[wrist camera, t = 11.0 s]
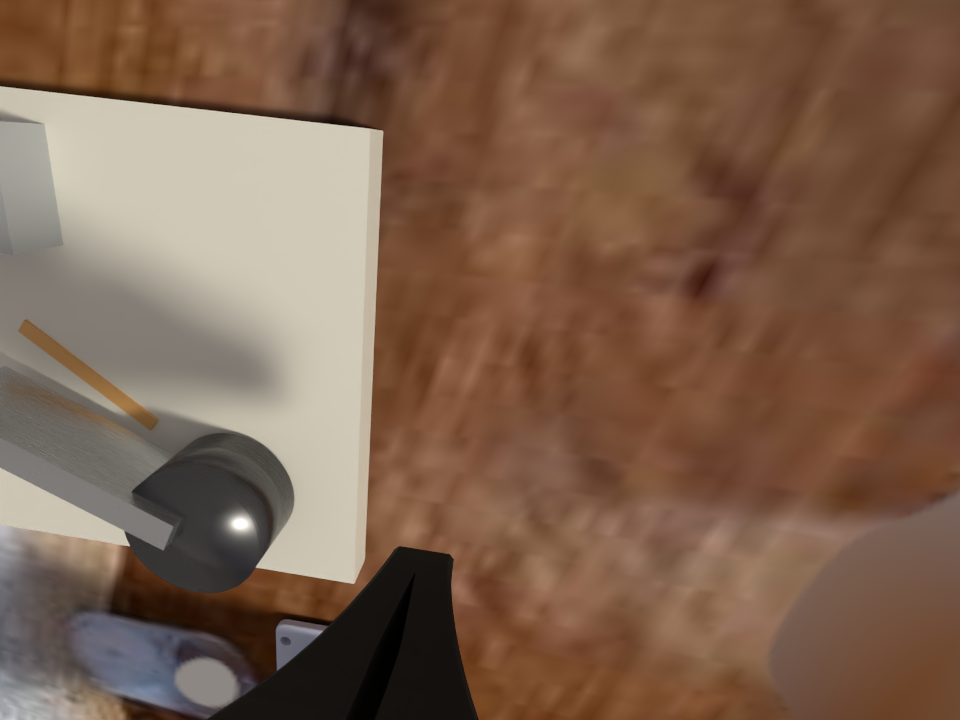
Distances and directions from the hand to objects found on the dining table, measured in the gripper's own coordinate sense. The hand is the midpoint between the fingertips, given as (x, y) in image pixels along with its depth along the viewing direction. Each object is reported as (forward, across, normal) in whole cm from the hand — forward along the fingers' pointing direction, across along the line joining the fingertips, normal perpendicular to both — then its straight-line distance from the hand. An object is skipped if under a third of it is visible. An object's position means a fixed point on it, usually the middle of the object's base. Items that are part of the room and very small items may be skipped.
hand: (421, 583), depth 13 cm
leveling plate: (+9, +13, -1) cm, 16 cm away
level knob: (+8, +12, +3) cm, 15 cm away
